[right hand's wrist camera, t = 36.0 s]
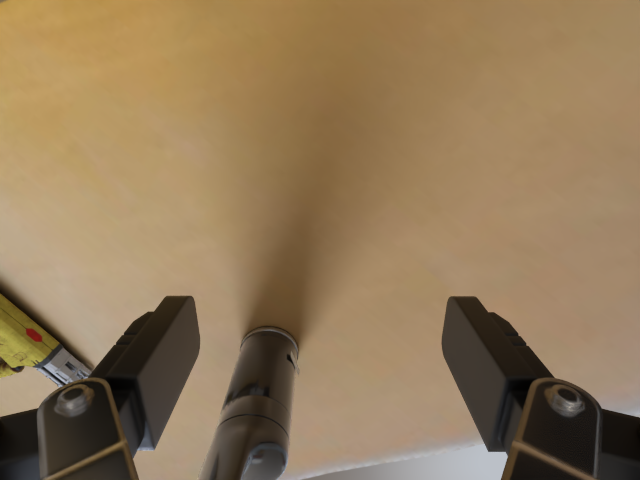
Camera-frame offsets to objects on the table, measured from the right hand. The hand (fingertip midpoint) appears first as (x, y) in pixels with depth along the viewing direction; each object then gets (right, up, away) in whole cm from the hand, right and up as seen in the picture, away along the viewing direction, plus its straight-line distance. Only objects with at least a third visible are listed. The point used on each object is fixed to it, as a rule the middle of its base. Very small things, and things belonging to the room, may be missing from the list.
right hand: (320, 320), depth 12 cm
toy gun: (-50, -14, +48) cm, 71 cm away
